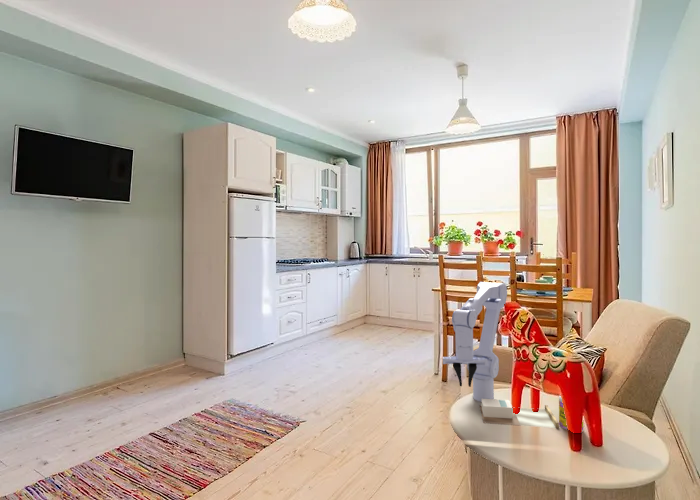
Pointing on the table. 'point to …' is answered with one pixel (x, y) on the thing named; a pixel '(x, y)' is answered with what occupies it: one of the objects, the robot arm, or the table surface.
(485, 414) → the carton
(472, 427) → the table surface
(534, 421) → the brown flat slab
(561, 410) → the supplement bottle
